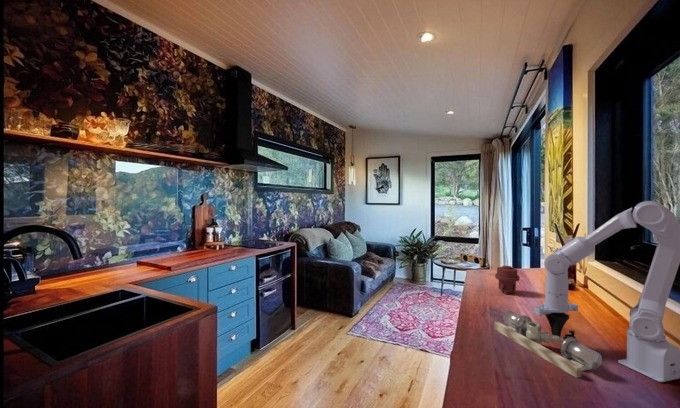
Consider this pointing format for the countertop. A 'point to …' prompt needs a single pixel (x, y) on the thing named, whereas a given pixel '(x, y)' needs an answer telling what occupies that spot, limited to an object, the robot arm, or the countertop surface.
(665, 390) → the countertop surface
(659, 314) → the robot arm
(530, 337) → the valve
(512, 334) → the backing rail
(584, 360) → the pipe line
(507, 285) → the mechanical component
